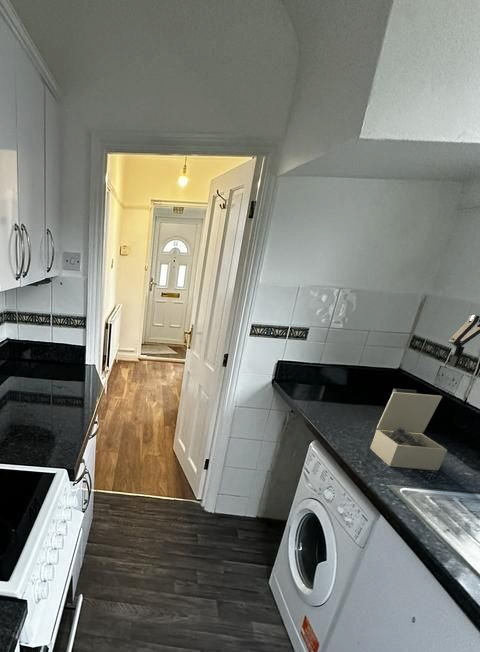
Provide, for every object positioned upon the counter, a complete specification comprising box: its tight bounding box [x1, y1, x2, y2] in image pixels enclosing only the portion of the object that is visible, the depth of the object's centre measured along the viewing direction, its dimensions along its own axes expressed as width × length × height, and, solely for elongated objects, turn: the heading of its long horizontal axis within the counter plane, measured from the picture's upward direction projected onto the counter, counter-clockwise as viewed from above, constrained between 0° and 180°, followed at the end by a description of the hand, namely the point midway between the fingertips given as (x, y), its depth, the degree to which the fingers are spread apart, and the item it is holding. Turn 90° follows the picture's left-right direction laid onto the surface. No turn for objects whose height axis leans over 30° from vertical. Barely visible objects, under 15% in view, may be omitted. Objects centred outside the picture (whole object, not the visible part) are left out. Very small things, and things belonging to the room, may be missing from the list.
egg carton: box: [388, 427, 427, 447], centre depth 144 cm, size 11×8×4 cm
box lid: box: [376, 388, 443, 434], centre depth 147 cm, size 14×16×8 cm
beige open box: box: [369, 429, 448, 471], centre depth 144 cm, size 14×16×8 cm
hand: (474, 367), depth 136 cm, fingers open, 13 cm apart
